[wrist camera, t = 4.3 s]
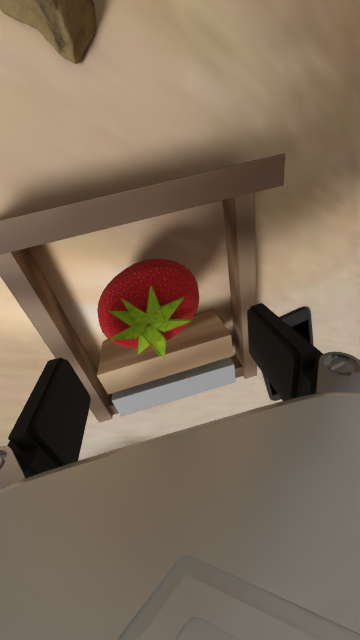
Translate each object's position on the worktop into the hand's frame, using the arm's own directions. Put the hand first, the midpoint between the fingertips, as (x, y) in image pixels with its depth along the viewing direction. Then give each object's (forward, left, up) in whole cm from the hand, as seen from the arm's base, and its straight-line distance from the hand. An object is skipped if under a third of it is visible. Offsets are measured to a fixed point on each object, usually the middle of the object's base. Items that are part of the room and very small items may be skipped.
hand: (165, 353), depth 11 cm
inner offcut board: (+6, 0, -11) cm, 12 cm away
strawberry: (0, 0, -11) cm, 11 cm away
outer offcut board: (+10, 0, -11) cm, 15 cm away
